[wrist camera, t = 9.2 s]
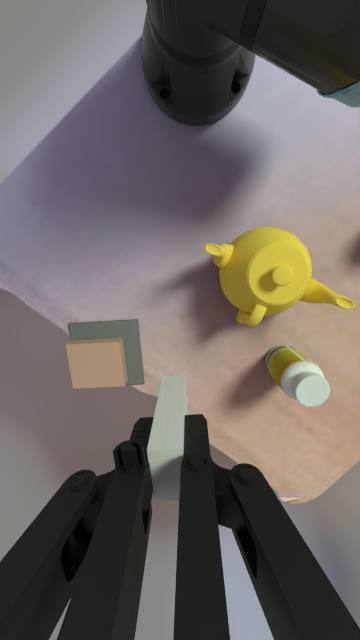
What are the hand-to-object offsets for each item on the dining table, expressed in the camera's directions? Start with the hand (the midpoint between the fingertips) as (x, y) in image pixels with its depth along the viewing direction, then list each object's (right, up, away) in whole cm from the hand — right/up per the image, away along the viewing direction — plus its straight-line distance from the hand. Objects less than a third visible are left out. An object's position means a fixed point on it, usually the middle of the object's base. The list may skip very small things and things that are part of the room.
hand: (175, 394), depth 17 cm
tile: (-9, -2, +26) cm, 28 cm away
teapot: (+13, +12, +25) cm, 30 cm away
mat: (-13, -1, +28) cm, 31 cm away
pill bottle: (+19, -2, +28) cm, 33 cm away
